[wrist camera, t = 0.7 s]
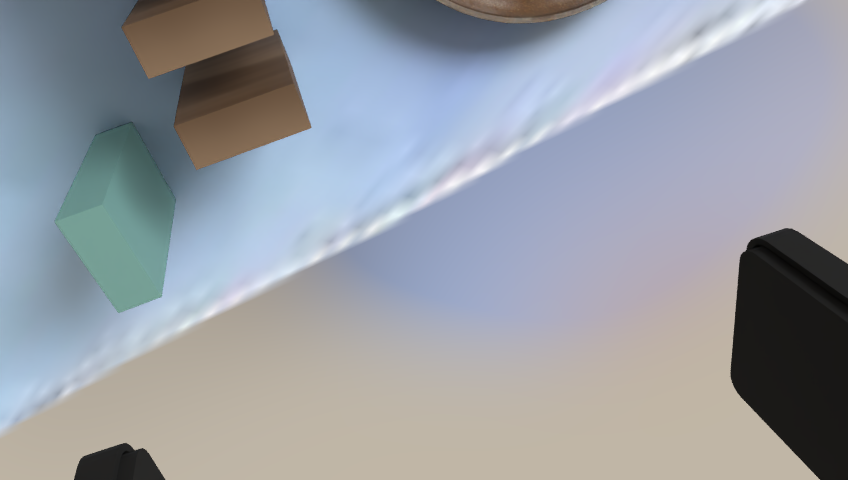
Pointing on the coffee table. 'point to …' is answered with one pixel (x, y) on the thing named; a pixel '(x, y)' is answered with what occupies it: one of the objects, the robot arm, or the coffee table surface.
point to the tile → (120, 218)
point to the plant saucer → (520, 9)
